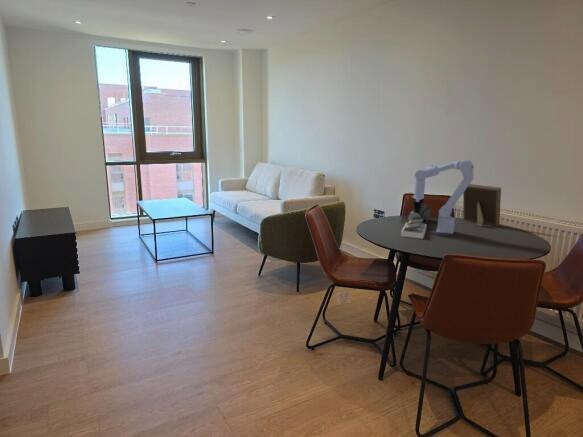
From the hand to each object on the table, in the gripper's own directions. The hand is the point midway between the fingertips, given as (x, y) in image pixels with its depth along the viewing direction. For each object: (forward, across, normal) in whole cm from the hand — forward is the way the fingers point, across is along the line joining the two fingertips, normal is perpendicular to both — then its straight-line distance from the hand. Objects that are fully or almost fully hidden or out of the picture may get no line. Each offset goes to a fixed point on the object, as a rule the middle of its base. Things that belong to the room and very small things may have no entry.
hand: (417, 211), depth 242 cm
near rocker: (+6, +18, 0) cm, 19 cm away
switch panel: (+10, +12, 0) cm, 16 cm away
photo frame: (+11, -30, +36) cm, 48 cm away
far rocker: (+6, +7, 0) cm, 9 cm away
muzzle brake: (+11, -16, 0) cm, 19 cm away
